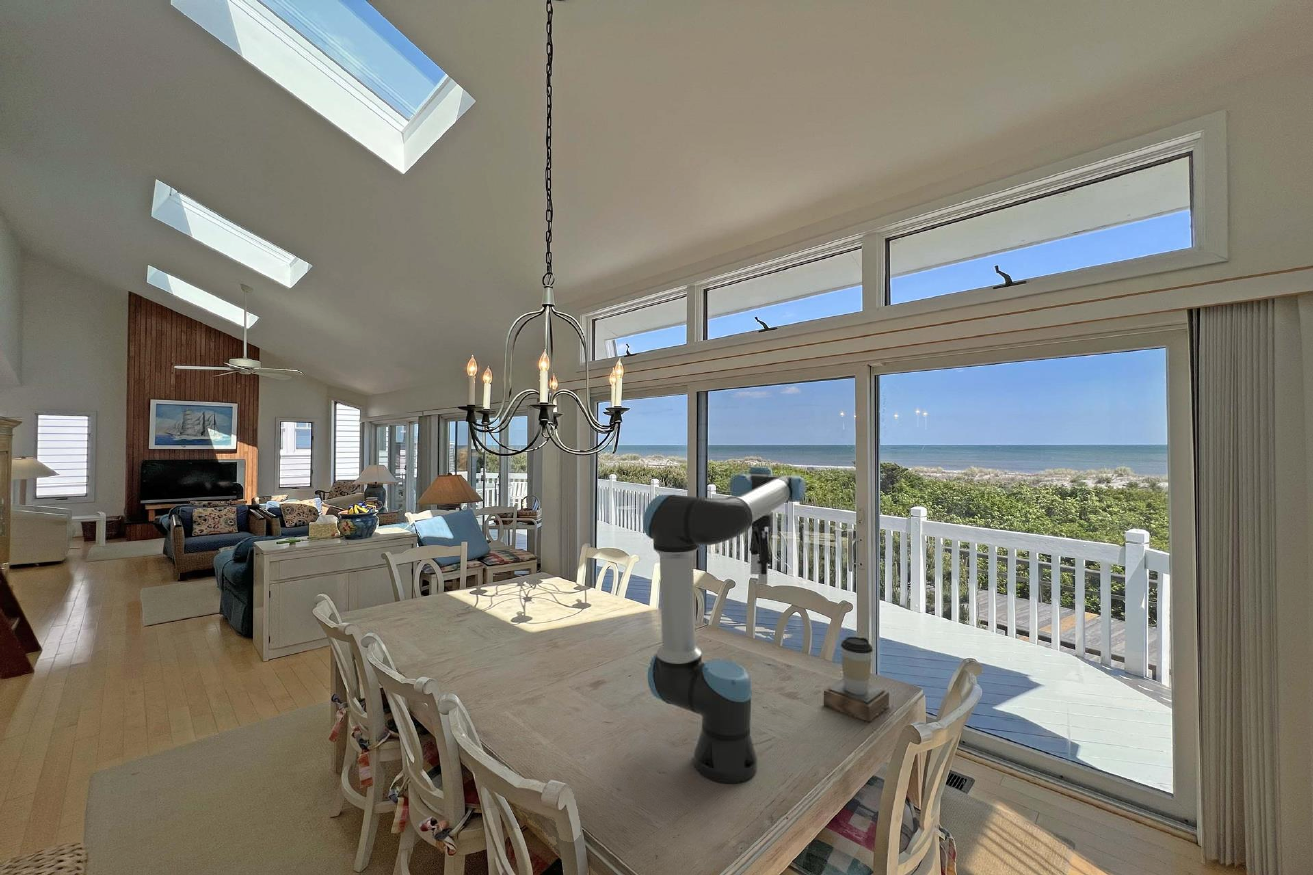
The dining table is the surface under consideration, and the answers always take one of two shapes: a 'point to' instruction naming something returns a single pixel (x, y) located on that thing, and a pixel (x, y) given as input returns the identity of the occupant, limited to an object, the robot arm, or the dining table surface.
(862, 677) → the coffee cup
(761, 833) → the dining table surface
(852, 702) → the walnut block
